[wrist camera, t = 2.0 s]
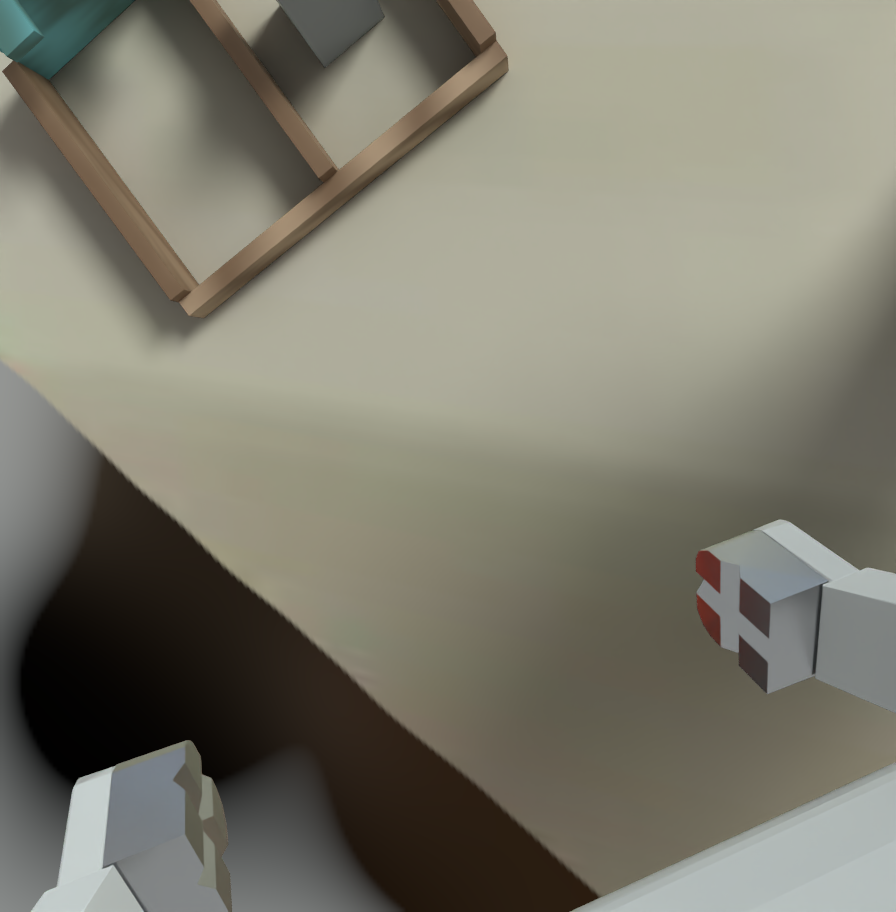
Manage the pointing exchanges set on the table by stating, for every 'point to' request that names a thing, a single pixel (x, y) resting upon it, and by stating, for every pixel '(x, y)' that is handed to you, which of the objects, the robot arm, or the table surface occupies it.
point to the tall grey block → (332, 23)
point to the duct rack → (98, 3)
